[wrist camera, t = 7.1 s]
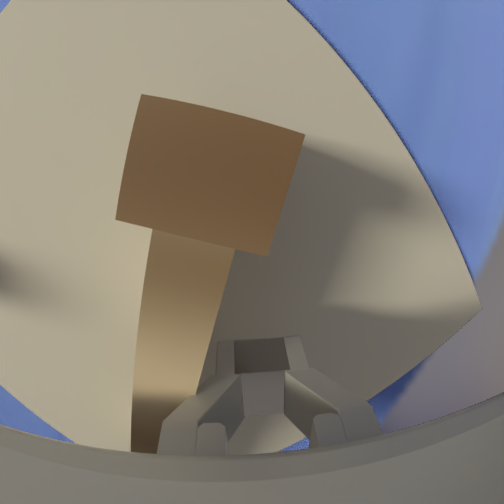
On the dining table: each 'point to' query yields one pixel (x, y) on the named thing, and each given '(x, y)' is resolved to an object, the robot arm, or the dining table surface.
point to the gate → (193, 235)
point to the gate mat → (244, 263)
